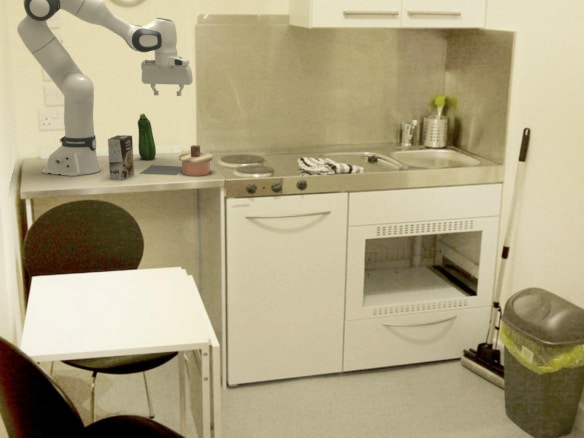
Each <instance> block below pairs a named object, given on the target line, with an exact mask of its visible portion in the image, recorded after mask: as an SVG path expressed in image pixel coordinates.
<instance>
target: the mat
mask: <svg viewBox="0 0 584 438" xmlns="http://www.w3.org/2000/svg"><path fill="white" fill-rule="evenodd" d="M181 172H182V165H181V166H179V165H155V164H154V165H153V164H152V165H150V166H149V167H147V168H145V169H144V170H142V171H141V172H140V173H139V174H141V175H158V176H159V175H161V176H177V175H179V174H180V173H181Z"/></svg>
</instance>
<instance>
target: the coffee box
mask: <svg viewBox="0 0 584 438" xmlns="http://www.w3.org/2000/svg"><path fill="white" fill-rule="evenodd" d="M133 145H134V144H133V135H127V134H125V135H124V134H123V135H118V134H117V135H115V136H112V137H110V138H108V139H107V147H108V149H107V152H108V165H109V179H110V180H115V181H118V180H119V181H126V180H128V179H130V178H132V177H133V176H135V165H134V148H133Z"/></svg>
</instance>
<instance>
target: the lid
mask: <svg viewBox="0 0 584 438" xmlns="http://www.w3.org/2000/svg"><path fill="white" fill-rule="evenodd" d="M178 160H179V161H180V162H181V163H182V162H188V163H201V162H208V161H210V162H211V161H213V155H212V154H211V153H207V152H206V153H205V152H201V145H200V144H199V145H191V146H190V152H187V153H183V154H180V155H178Z"/></svg>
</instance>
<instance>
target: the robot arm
mask: <svg viewBox="0 0 584 438" xmlns="http://www.w3.org/2000/svg"><path fill="white" fill-rule="evenodd" d="M23 7H24V11H25V13H26V16H25V17H24V18H23V19H22V20H21V21H20V22H19V23H18V26H17V33H18V35H19V37H20V39H21V41H22V42H23V45H25V47H26V49H27V50H28V51H29V53H31V55H32V56H33V57H34V59H35V60H36V61H37V63H38V65H40V66H41V67H42V69H43V70H44V71H45V73H46V74H47V75H48V76H49V78H50V79H51V80H52V81H53V83H54V85H55V86H56V87H57V88H58V89H59V91H60V92H61V94H63V102H64V105H63V106H64V108H63V110H64V112H63V121H64V122H63V124H64V136H62V137H61V138H59V143H61V145H60V146H58V148H56V149H55V150H54V151H53V152H52V153H51V154H50V155H49V156H48V159H47V166H45V167H44V168H42V169H41V170H42V171H41V172H43V174H48V173H51V174H50V175H58V174H61V176H69V177H70V176H71V177H76V176H81V175H90V174H95V173H98V172H101V170H102V168H101V167H100V163H99V160H98V156H97V155H98V154H97V139H96V135H95V130H94V129H95V126H94V101H95V98H94V97H95V93H94V92H95V87H94V83H93V81H92V79H91V78H90V77H88V76H87V75H85V74H84V73H83V72H82V70H81V69H80V67H78V65H77V63H76V62H75V61H74V59H73V57H72V56H71V55H70V53H69V52H68V51H67V49H66V48H65V46H63V44H62V43H61V41H60V40H59V39H58V38H57V37H56V35H55V34H54V33H53V31H52V30H51V29H50V27H49V25H48V20H49V19H51V18H52V17H54V15H55V14H56V13H58V12H59V11H60V10H61V11H65V12H67V13H69V14H71V15H72V16H74V17H75V18H77V19H79V20H81V21H83V22H86V23H89V24H91V25H98V26H101V27H104V28H105V29H107V30H108V31H110V32H112V33H114V34H116V35H117V36H119V37H120V38H122V39H123V40H124V41H125V43H126V44H127V46H128V47H129V48H130V49H132V50H133V51H135V52H139V53H149V52H154V60H153V59H151V60H148V59H145V60H144V61H142V62H141V63H140V66H141V68H140V69H141V82H142V84H145V85H148V84H149V85H150V89H152V91H153V96H159V94H160V93H159V92H160V91H159V90H157V88H156V85H176V86H177V85H178V87H179V90H177V91H176V97H181V96H182V91H183V90H184V88H185V86H189V85H192V83H193V71H192V68H191V67H190V60H189V59H188V58H185V57H183V56H180V55H178V50H177V42H178V38H177V37H178V35H177V28H176V23H175V22H174V21H173V20H171V19H168V18H163V17H156V18H154V20H152V21H150V22H149V23H147V24H145V25H138V24H132V23H130V22H129V21H126V20H125V19H123V18H121V17H120V16H118V15H116V14H115V13H114V12H112V11H111V10H110V8H108V5H107V4H106V2H105V1H104V0H23Z"/></svg>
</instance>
